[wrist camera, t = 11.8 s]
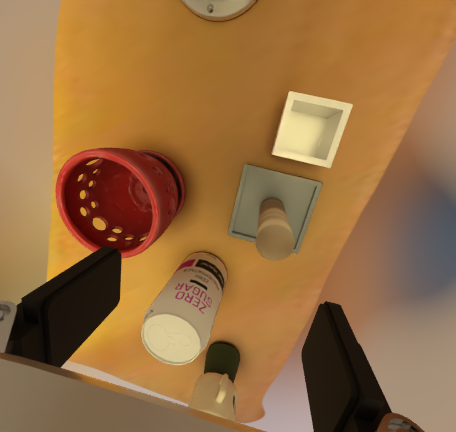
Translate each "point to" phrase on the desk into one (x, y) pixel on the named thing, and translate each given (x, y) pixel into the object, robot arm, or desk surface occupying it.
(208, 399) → the character mug
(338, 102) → the white open square box
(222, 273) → the supplement can
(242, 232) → the tray
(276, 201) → the dowel
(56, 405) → the robot arm
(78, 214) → the plant pot
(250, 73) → the desk surface
